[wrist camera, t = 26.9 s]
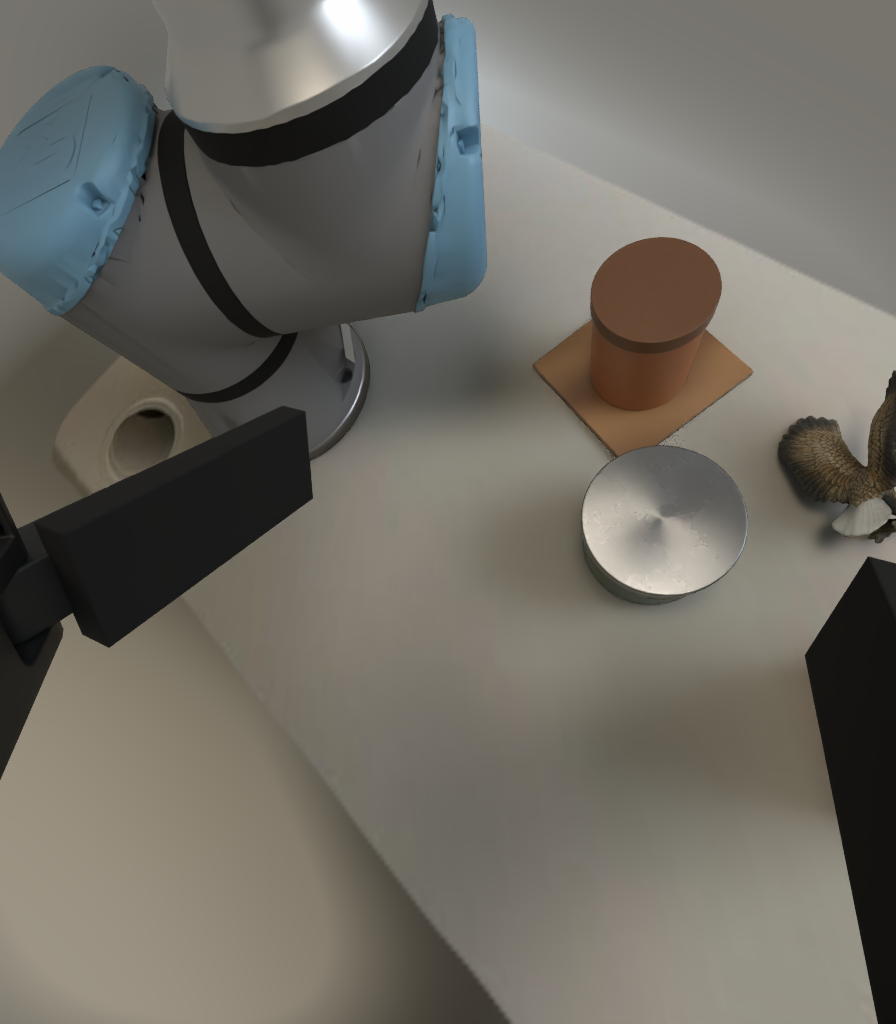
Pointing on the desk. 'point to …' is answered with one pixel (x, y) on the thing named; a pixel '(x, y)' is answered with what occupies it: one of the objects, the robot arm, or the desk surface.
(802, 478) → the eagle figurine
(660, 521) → the green tin
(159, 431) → the desk surface
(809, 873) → the desk surface
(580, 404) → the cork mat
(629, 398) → the copper tin
